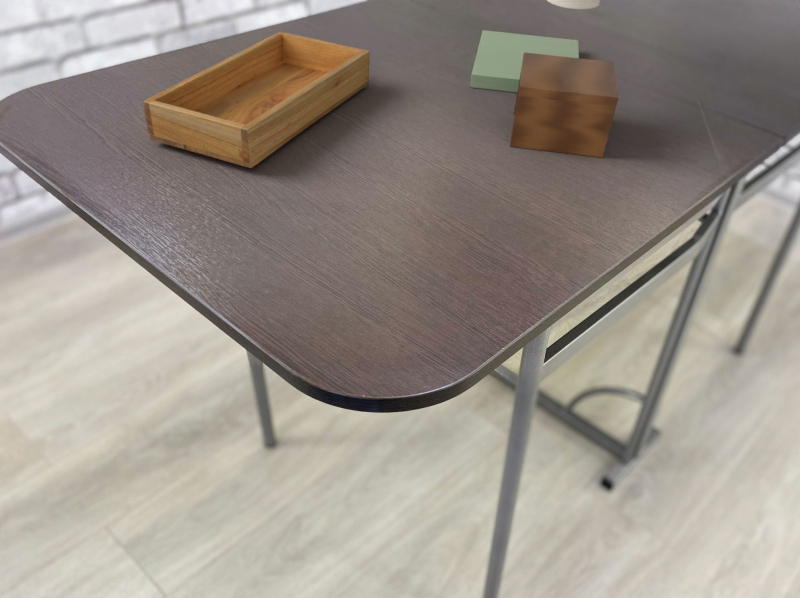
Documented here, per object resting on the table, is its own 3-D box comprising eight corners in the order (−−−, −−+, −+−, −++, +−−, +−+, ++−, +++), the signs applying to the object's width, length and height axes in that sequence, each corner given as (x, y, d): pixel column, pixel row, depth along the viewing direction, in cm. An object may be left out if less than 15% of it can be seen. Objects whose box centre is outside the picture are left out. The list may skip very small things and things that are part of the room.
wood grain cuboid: (599, 119, 101) (613, 61, 96) (602, 157, 92) (618, 97, 87) (514, 109, 103) (523, 52, 97) (509, 146, 94) (519, 86, 88)
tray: (281, 66, 110) (279, 27, 107) (369, 87, 106) (370, 47, 102) (149, 145, 90) (141, 100, 86) (251, 175, 85) (247, 129, 81)
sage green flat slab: (575, 52, 121) (578, 40, 119) (577, 99, 106) (580, 86, 105) (481, 42, 122) (482, 30, 121) (469, 87, 108) (471, 74, 106)
